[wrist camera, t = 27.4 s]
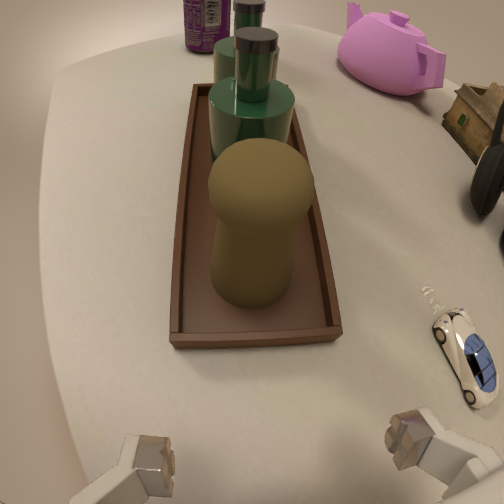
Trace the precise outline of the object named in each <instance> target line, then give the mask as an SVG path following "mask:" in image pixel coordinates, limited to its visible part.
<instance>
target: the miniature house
mask: <svg viewBox="0 0 504 504" xmlns="http://www.w3.org/2000/svg"><path fill="white" fill-rule="evenodd" d="M454 92H456V93H457V94H458V96H457V98H456V100H455V101H454V103H453V105H452V107H451V109H450V110H449V111H448V112H446V113H444V115H443V117H444V119H445V120H443V122H442V126H443V127H444V128H445V129H446V130H447V131H448V132H449V133H450V135H451V136H452V137H453V138H454V139H455V140H456V141H457V143H458V144H459V145H460V146H461V147H462V149H463V150H464V151H465V152H466V153H467V155H468V156H469V157H470V158H471V160H472V161H473V162H474V163H475V165H477V163H478V161H479V159H480V157H481V155H482V153H483V151H484V150H485V148H486V147H487V146H490V142H491V138H492V134H493V130H494V126H495V123H496V119H497V116H498V112H499V109H500V107H501V104H502V102H503V100H504V87H502V86H499V85H498V84H497V83H495V82H492V83H491V85H490V86H489V88H486V87H482V86H477V85H472V84H467V83H463V85H462V87H461V88H460V89H459V90H455V91H454ZM500 142H503V143H504V125H503V130H502V135H501V139H500ZM503 191H504V187H503Z"/></svg>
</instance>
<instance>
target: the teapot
mask: <svg viewBox="0 0 504 504" xmlns="http://www.w3.org/2000/svg"><path fill="white" fill-rule="evenodd" d="M347 7H348V8H347V31H346V33H345V34H344V36H343V37H342V39H341V41H340V43H339V46H338V50H337V51H338V56H339V58H340V60H341V62H342V64H343V65H344V67H345V69H346V70H347V71H348V72H349V73H350V74H351V75H352V76H354V77H355V78H356V79H358V80H359V81H361V82H363V83H365V84H367V85H368V86H371V87H373V88H375V89H377V90H380V91H383V92H386V93H389V94H393V95H399V96H410V95H413V94H417V93H419V92H422V91H424V90H426V89H434V88H442V87H443V80H444V71H445V62H446V54H444V53H442V52H440V51H438V50H436V49H434V48H432V47H430V46H428V43H427V40H426V37H425V35H424V34H423V33H422V32H421V31H420V30H419V29H417V28H416V27H414V26H412V25H411V24H409V23H407V22H408V21H409V19H410V18H409V17H408V16H407V15H405V14H403V13H401V12H398V11H395V10H390V16H389V15H386V14H381V13H375V12H371V13H368V14H366V15H365V16H363V15H362V12H361V10H360V6H359V5H357V4H355V3H351V2H348V5H347Z"/></svg>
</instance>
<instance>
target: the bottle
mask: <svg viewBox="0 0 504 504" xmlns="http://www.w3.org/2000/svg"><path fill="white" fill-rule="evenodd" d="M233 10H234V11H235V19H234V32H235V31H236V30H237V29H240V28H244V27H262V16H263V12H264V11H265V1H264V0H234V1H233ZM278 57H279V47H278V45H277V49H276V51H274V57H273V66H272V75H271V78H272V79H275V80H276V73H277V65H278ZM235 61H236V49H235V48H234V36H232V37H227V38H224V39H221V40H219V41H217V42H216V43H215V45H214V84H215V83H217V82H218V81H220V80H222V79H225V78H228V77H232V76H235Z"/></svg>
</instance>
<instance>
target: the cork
mask: <svg viewBox="0 0 504 504" xmlns="http://www.w3.org/2000/svg"><path fill="white" fill-rule="evenodd" d="M208 189H209V198H210V203H211V205H212V207H213V209H214V211H215V212H216V214H217V216H218V221H217V227H216V233H215V239H214V246H213V252H212V258H211V264H210V277H211V282H212V284H213V286H214V288H215V290H216V292H217V293H218V294H219V295H220V296H221V297H222V298H223V299H224V300H225V301H226V302H228V303H230V304H232V305H234V306H236V307H239V308H245V309H251V310H252V309H259V308H265V307H267V306H269V305H271V304H273V303H275V302H277V301H278V300H279V299H280V298H281V297H282V296H283V295H284V294H285V293H286V291H287V289H288V287H289V285H290V283H291V273H292V262H293V250H294V238H295V227H296V226H297V225H298V224H299V223H300V222H301V221H302V220H303V219H304V218H305V216H306V214H307V212H308V210H309V208H310V206H311V204H312V201H313V198H314V177H313V174H312V172H311V169H310V167H309V165H308V163H307V161H306V160H305V159H304V157H303V156H302V155H301V154H300V153H299V152H298V151H297V150H295V149H294V148H292V147H291V146H289V145H288V144H285V143H282V142H280V141H277V140H272V139H266V138H253V139H246V140H243V141H239V142H236V143H234V144H233V145H231V146H229V147H228V148H226V149H225V150H224V151H223V152H222V153H221V155H220V156H219V157H218V158H217V159H216V160H215V162H214V163H213V166H212V169H211V172H210V175H209V179H208Z"/></svg>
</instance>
